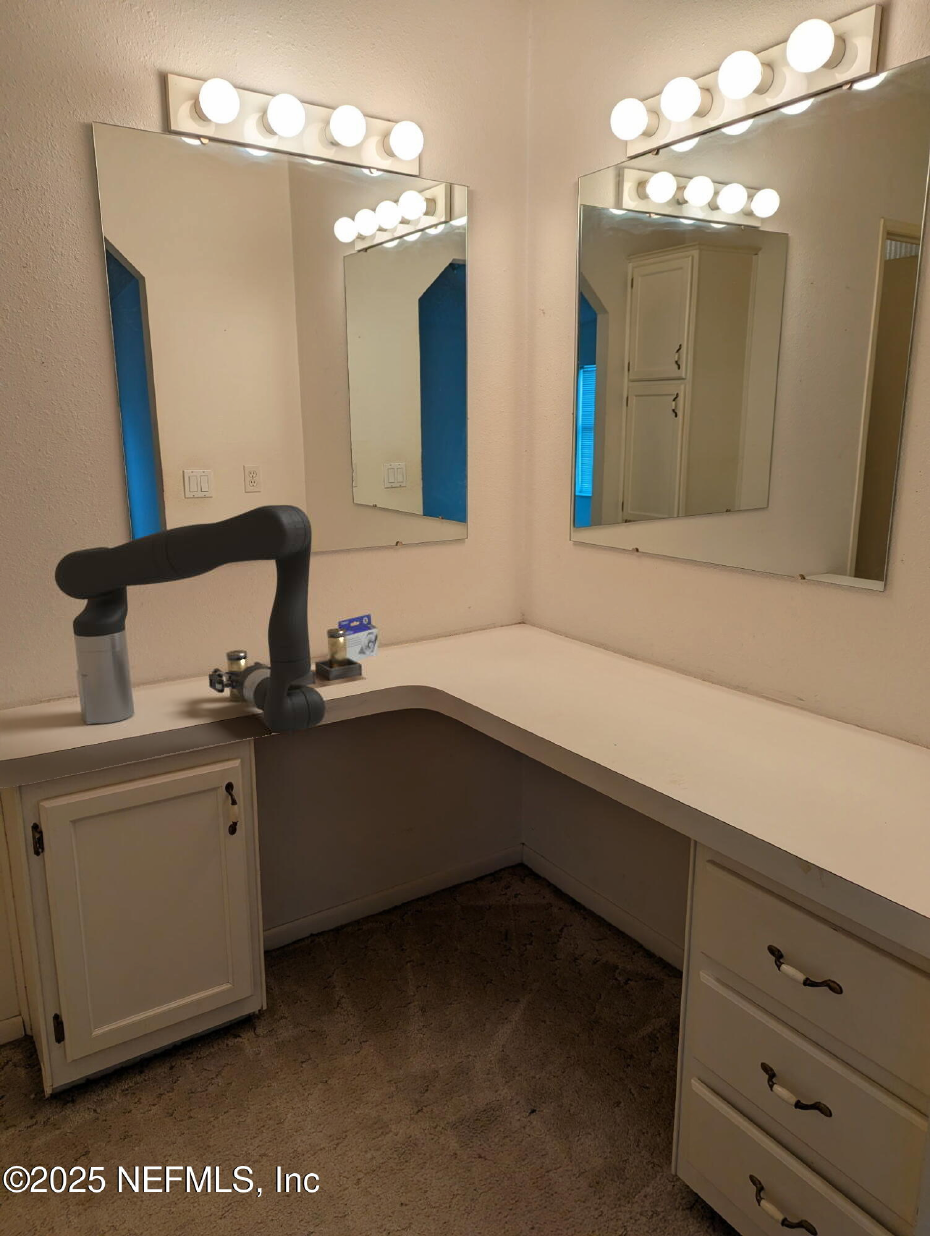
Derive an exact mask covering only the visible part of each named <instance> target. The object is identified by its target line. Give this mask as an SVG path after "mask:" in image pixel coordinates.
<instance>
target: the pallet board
mask: <svg viewBox="0 0 930 1236" xmlns="http://www.w3.org/2000/svg"><path fill="white" fill-rule="evenodd" d="M314 665H315V667H314V669H311V670H310V672H309V673H308V674H307V675H305V676H303V677H301V678H298V679H296V680H294V681H293V682H292V683H295V684H301V685H306V686H309V687H312V688H314V689H315V690H316V689H319V688H320V689H321V688H326V687H330V686H336V685H342V684H347V683H352V682H359V681H364V680H367V679H368V678H366V677H365V676H362V675H363V672H362V671H363V666H362V664H361V663H360V662H359V661H357V662H356V661H354V660H352V659H349V658H347V666H344V667H339V668H333V669H330V668H329V659H327V660H322V661H315V663H314Z"/></svg>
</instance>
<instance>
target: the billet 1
mask: <svg viewBox="0 0 930 1236" xmlns="http://www.w3.org/2000/svg"><path fill="white" fill-rule="evenodd" d="M225 656H226V661H227V662H226V663H227V671H230V670H232V671H241V670H244V669H245V668H247V667H249V665H248V652H247V650H243V649H234V650H230V651H226V655H225ZM233 676H234V675H232V677H233ZM228 689H229V700H230V701H231V702H235V703H241V701H242V702H247V701H246V700H245V699H243V698H242V697H241V696H240V694H239V693H238V691H237V690H236V689H230V688H228Z"/></svg>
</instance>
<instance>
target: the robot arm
mask: <svg viewBox="0 0 930 1236" xmlns="http://www.w3.org/2000/svg"><path fill="white" fill-rule="evenodd" d="M312 533H313V531H312V525H311V521H310V519H309V517H308V515H307V513H306V512H304V511H303V510H302V509H301V508H300V507H298V506H295V505H291V504H272V505H271V504H269V505H263V506H259V507H256V508H253V509H250V510H248V511H245V512H243V513H240V514H237V515H236V516H235V515H234V516H231V517H229V518H226V519H224V520H220V521H217V522H210V523H197V524H189V525H184V526H179V527H174V528H169V529H166V530H161V531H158V532H154V533H151V534H148V535H144V536H142V537H139V538H135V539H133V540H131V541H127V542H125V543H123V544H119V545H117V546H113V547H107V546H100V547H99V546H97V547H92V548H85V549H81V550H80V549H79V550H76V551H72V552H70V553H67V554H66V555H65V556H63V557H62V558H61V559H60V560H59V561H58V563H57V565H56V567H55V571H54V579H55V580H54V582H55V584H56V586H57V587H58V588H59V590H60V591H61V592H62V593H63V594H64V595H66V596H68V597H70V598H73V599H74V600H87V601H86V604H85V607H84V608H83V610H82V611H81V612H80V613H79V614H78V615H76V616H75V617H74V619H73V621H72V629H73V638H74V640H73V641H74V646H75V647H74V648H75V655H76V665H77V670H76V678H77V687H78V697H79V704H80V713H81V718H82V719H83V721H84V723H86V725H92V724H108V723H109V724H111V723H114V722H119V721H123V720H127V719H128V718H130V717H133V716H134V715H135V706H134V698H133V687H132V679H131V669H130V660H129V650H128V641H127V640H128V639H127V632H126V618H127V616H128V611H129V610H128V609H129V607H128V605H129V603H128V589H127V588H128V587H131V586H132V587H133V586H145V585H147V586H148V585H155V584H156V585H157V584H162V583H170V582H175V581H181V580H182V581H183V580H185V579H186V580H187V579H190V578H194V577H199V576H201V575H204V574H206V573H209V572H211V571H213V570H216V569H217V568H220V567H221V566H224V565H227V564H232V563H233V564H234V563H240V562H251V561H252V562H253V561H274V562H275V569H276V587H275V588H276V589H275V593H274V594H275V595H274V598H273V599H274V600H273V603H272V608H271V612H270V616H269V621H268V626H267V627H268V628H267V642H268V644H267V645H268V654H269V664H266V663H265V664H264V663H261V662H259V661H255V662H253V664H252V665H251V664H250V665H248V667H247V668H245V669H244V670H241V671H232V670H230V671H228V670H227V671H225V672H224V671H222V670H221V669H220V668H213V670H212V671H211V673H209V674H208V686H209V688H211V690H214V691H215V692H217V693H219V694H222V693H225V689H229V688H230V689H236V690H237V691H238V693H239V694H240V696H241V697H242V698H243V699H245V700H246V701H245V702H247V703H248V704H250V705H251V706H253V707H254V708H256V709H258V710H260V711H261V712H263V717H264V721H265V725H266V726H267V727H268V729H269V730H270V731H271V732H274V733H275V734H285V733H289V732H294V731H299V730H305V729H309V728H311V729H312V728H314V727H316V726H318V725H319V724H320V723H322V722H323V719H324V718H325V715H326V708H327V707H326V703H325V700H324V698H323V696H322V694H321V693H320V692H319V691H318V690H317V689H316V688H315V689H314V688H312V687H309V686H306V685H301V684H295V683H292V682H293V681H294V680H296V679H298V678H301V677H303V676H305V675H307V674H308V673H309V672H310V670H312V661H311V660H312V659H311V649H310V648H311V647H310V635H309V622H308V621H309V620H308V619H309V618H308V607H309V606H308V602H309V601H308V600H309V599H308V597H309V581H310V580H309V579H310V566H311V554H312V553H311V552H312V551H311V550H312V539H313V536H312ZM269 665H270V666H269ZM232 675H234V676H233V677H232ZM224 677H225V680H224Z"/></svg>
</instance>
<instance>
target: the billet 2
mask: <svg viewBox="0 0 930 1236" xmlns="http://www.w3.org/2000/svg"><path fill="white" fill-rule="evenodd" d="M326 636H327V647H328V648H327V650H328V660H329V668H330V669H333V668H339V667H344V666H347V647H346V629H342V628H338V627H337V628H331V629H330V628H329V629H327V630H326Z"/></svg>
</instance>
